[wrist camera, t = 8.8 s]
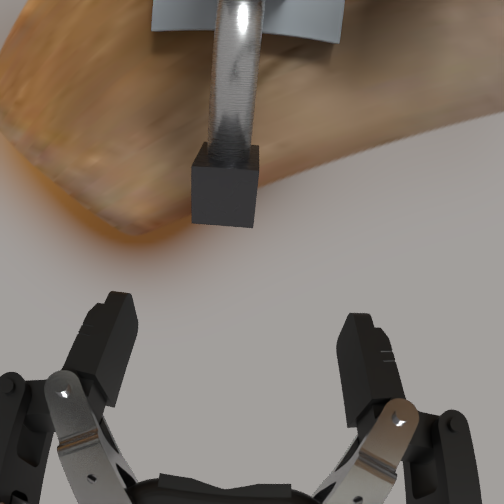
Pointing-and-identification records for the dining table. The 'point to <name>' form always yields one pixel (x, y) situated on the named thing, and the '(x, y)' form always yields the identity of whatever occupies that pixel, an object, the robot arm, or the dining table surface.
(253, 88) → the shaft
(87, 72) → the dining table surface
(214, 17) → the bracket
